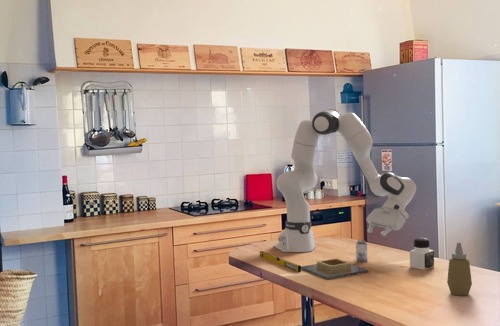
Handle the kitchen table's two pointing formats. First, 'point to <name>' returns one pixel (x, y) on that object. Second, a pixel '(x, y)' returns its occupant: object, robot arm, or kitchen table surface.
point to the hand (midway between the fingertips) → (375, 233)
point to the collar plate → (334, 269)
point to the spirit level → (280, 261)
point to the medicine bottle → (421, 255)
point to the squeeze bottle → (459, 273)
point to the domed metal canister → (361, 251)
